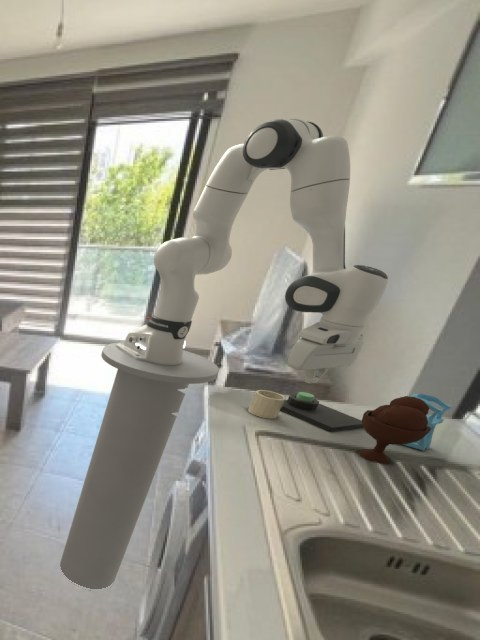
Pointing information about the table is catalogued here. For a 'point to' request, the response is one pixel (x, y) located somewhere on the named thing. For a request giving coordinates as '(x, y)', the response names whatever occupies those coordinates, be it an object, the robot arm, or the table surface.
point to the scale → (320, 414)
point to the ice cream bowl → (395, 425)
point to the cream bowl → (266, 404)
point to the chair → (430, 420)
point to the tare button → (305, 396)
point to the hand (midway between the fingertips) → (310, 382)
